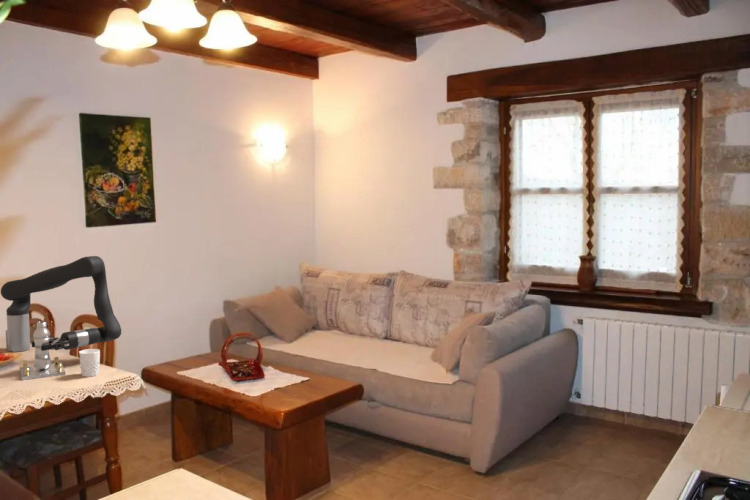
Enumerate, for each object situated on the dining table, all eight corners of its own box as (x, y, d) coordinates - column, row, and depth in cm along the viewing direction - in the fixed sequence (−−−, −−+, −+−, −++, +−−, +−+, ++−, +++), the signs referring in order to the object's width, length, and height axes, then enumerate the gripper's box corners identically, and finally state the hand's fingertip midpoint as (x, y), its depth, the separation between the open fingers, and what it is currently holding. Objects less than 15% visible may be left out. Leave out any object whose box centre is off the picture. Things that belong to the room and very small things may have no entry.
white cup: (91, 378, 268) (91, 354, 267) (75, 376, 270) (74, 352, 269) (104, 372, 275) (104, 349, 274) (88, 371, 278) (88, 348, 276)
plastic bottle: (36, 371, 271) (35, 324, 269) (31, 368, 276) (31, 321, 274) (52, 369, 275) (52, 322, 273) (48, 365, 280) (47, 319, 278)
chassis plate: (19, 370, 277) (19, 360, 277) (61, 365, 286) (60, 355, 285) (21, 380, 264) (21, 370, 263) (65, 374, 272) (65, 364, 272)
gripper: (66, 328, 289) (28, 335, 276) (82, 333, 280) (44, 340, 267) (67, 345, 290) (29, 352, 277) (83, 350, 281) (44, 358, 268)
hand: (36, 346), depth 272 cm, fingers open, 8 cm apart
